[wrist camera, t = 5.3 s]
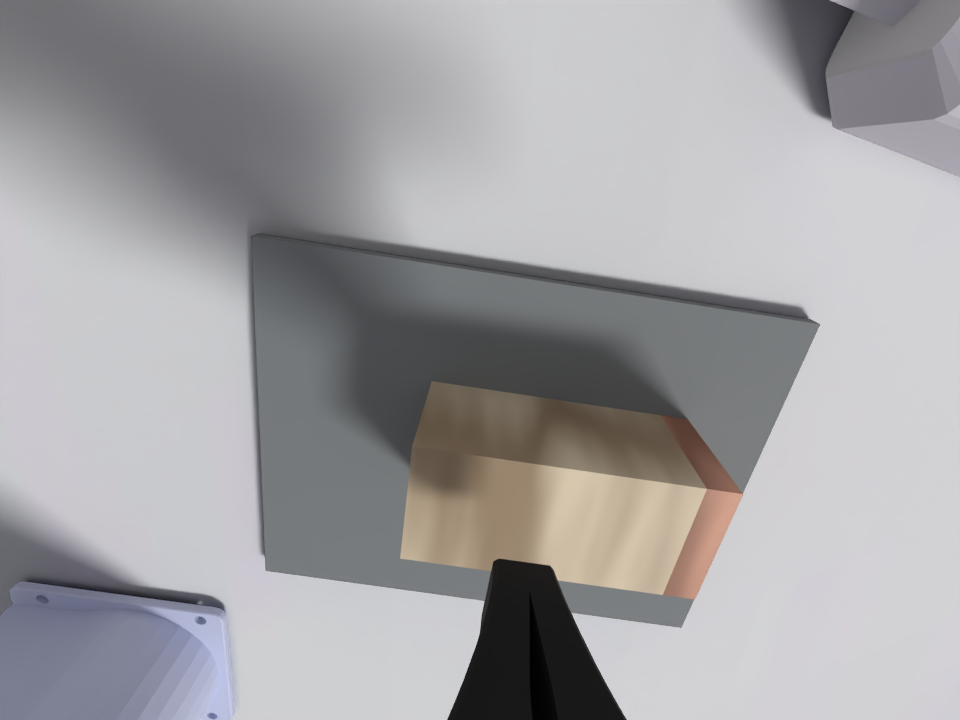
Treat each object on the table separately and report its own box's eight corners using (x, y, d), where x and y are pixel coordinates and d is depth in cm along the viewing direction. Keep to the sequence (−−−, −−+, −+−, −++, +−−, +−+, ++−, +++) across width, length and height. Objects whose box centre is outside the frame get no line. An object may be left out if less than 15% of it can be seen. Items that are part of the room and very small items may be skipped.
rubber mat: (270, 561, 20) (265, 570, 20) (258, 233, 15) (251, 236, 14) (677, 617, 21) (681, 627, 20) (810, 319, 15) (820, 324, 15)
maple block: (399, 558, 14) (694, 599, 14) (412, 446, 12) (743, 494, 13) (420, 475, 18) (654, 509, 18) (431, 381, 16) (687, 419, 16)
